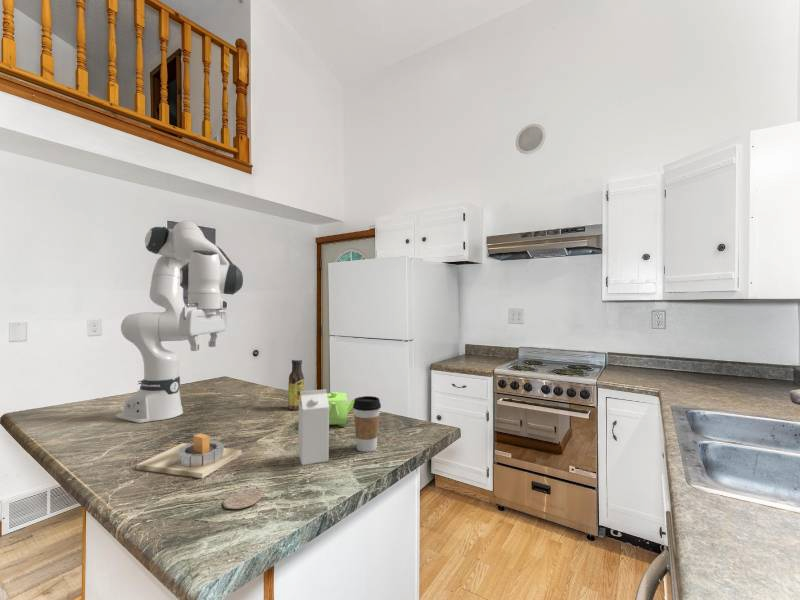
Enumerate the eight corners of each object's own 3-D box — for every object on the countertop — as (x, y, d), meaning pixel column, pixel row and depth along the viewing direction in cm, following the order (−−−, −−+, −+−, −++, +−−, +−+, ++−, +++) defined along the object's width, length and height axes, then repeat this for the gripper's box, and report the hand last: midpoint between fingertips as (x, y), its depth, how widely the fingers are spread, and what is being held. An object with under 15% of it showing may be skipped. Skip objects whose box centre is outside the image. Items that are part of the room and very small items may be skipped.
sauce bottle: (299, 411, 149) (299, 361, 149) (284, 410, 150) (285, 360, 150) (306, 406, 155) (307, 358, 156) (292, 405, 157) (293, 358, 157)
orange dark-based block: (183, 459, 100) (183, 437, 100) (204, 451, 105) (204, 430, 105) (197, 464, 97) (197, 441, 97) (218, 456, 102) (218, 434, 102)
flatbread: (242, 489, 87) (242, 485, 87) (268, 495, 85) (268, 491, 85) (213, 507, 80) (213, 503, 80) (242, 515, 77) (242, 510, 77)
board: (136, 469, 97) (136, 464, 97) (182, 447, 111) (182, 443, 111) (202, 478, 92) (202, 473, 92) (241, 454, 107) (241, 450, 107)
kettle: (333, 433, 124) (333, 399, 124) (304, 425, 132) (304, 393, 132) (362, 421, 137) (362, 390, 137) (333, 415, 145) (334, 385, 145)
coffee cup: (347, 451, 110) (347, 399, 110) (360, 441, 118) (360, 393, 118) (373, 455, 107) (374, 402, 107) (384, 444, 115) (385, 395, 115)
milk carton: (298, 455, 106) (298, 388, 106) (323, 451, 109) (323, 386, 109) (302, 465, 100) (302, 394, 100) (328, 461, 102) (329, 392, 103)
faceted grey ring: (167, 464, 97) (167, 454, 97) (199, 448, 108) (199, 439, 108) (203, 468, 95) (203, 458, 95) (231, 452, 105) (231, 443, 105)
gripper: (194, 303, 104) (193, 353, 103) (230, 303, 124) (230, 345, 124) (172, 303, 104) (171, 353, 104) (212, 303, 124) (211, 344, 124)
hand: (204, 348), depth 114 cm, fingers open, 8 cm apart
